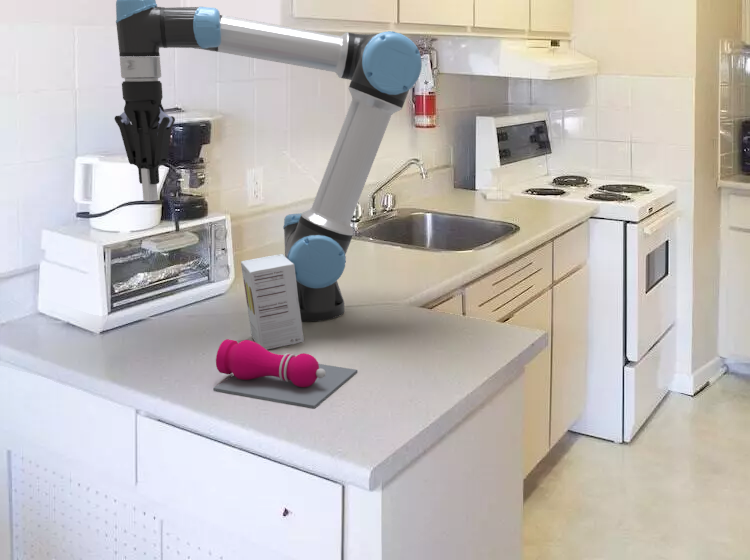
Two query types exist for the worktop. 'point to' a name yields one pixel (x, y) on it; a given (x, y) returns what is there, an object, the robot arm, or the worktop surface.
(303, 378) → the pepper mill
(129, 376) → the worktop surface
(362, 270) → the worktop surface
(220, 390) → the slate mat
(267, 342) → the supplement box
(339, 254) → the robot arm
